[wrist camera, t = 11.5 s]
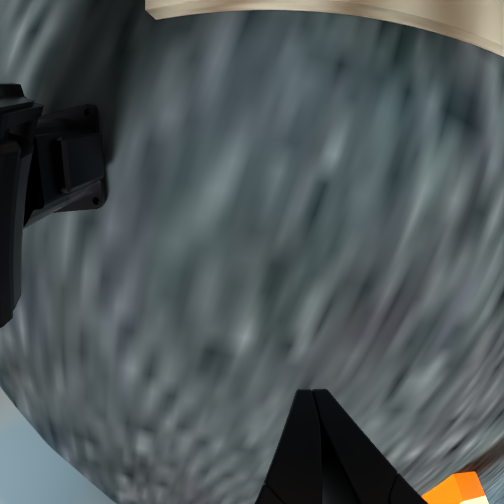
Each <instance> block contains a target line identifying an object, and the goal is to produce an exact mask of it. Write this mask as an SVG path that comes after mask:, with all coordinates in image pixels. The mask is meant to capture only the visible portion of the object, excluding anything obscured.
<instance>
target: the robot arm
mask: <svg viewBox="0 0 504 504" xmlns="http://www.w3.org/2000/svg"><path fill="white" fill-rule="evenodd" d="M43 107H44V105H40V104H36V103H34V100H30V99H27V98H26V97H25V96H24V94H23V90H22V87H21V85H20V84H15V83H0V328H1V327H3V326H4V325H5V324H6V323H7V322H9V321H10V320H11V319H12V317H13V310H14V309H15V307H16V305H17V303H18V300H19V298H20V296H21V263H22V261H21V259H22V235H23V229H24V228H26V227H27V226H29V225H31V224H33V223H34V222H36V221H38V220H40V219H42V218H44V217H45V216H47V215H49V214H51V213H55V212H65V211H76V210H88V209H98V208H100V207H102V206H103V205H104V204H105V200H106V198H105V191H104V182H103V177H104V175H105V172H104V162H103V151H102V138H101V135H100V134H99V125H98V110H97V107H96V106H95V105H93V104H87V105H82V106H78V107H74V108H70V109H66V110H62V111H59V112H55V113H51V114H48V115H45V116H41V114H42V110H43ZM89 109H91V114H90V116H88V114H87V112H88V110H89ZM96 197H98V198H99V203H97V202H96V200H95V198H96ZM255 504H429V503H428V502H427V501H425V500H424V499H423V498H422V497H421V496H420V495H419V494H418V493H417V492H416V491H415V490H414V489H413V488H412V487H411V486H410V485H409V484H408V483H407V482H406V481H405V479H404V478H403V477H402V476H401V475H400V474H399V473H398V474H397V470H396V469H395V468H394V467H393V466H392V465H391V464H390V463H389V461H388V460H387V459H386V458H385V457H384V456H383V454H382V453H381V452H380V451H379V450H378V449H377V448H376V446H375V445H374V444H373V443H372V442H371V441H370V439H369V438H368V437H367V436H366V435H365V434H364V432H363V431H362V430H361V429H360V428H359V427H358V425H357V424H356V423H355V422H354V421H353V420H352V418H351V417H350V416H349V415H348V414H347V412H346V411H345V410H344V409H343V408H342V407H341V405H340V404H339V403H338V402H337V401H336V399H335V398H334V397H333V396H332V395H331V393H330V392H329V391H328V390H326V389H313V390H311V389H298V390H297V391H296V393H295V396H294V400H293V403H292V406H291V409H290V412H289V415H288V418H287V420H286V423H285V426H284V429H283V432H282V435H281V438H280V440H279V443H278V446H277V449H276V452H275V454H274V457H273V460H272V462H271V465H270V468H269V470H268V473H267V475H266V478H265V481H264V483H263V485H262V488H261V490H260V493H259V495H258V497H257V500H256V502H255Z"/></svg>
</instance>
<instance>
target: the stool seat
mask: <svg viewBox="0 0 504 504" xmlns="http://www.w3.org/2000/svg"><path fill="white" fill-rule="evenodd" d="M145 10H146V11H147V12H148V13H149V14H150V15H151V16H152V17H153V18H155V19H156V20H159V19H164V18H170V17H177V16H184V15H192V14H200V13H210V12H222V11H238V10H300V11H316V12H328V13H338V14H346V15H354V16H361V17H368V18H374V19H379V20H385V21H390V22H395V23H399V24H404V25H408V26H413V27H417V28H421V29H425V30H428V31H432V32H435V33H439V34H442V35H446V36H449V37H452V38H455V39H458V40H461V41H464V42H467V43H470V44H473V45H475V46H478V47H481V48H483V49H486V50H489V51H491V52H494V53H496V54H498V55H501V56H503V57H504V0H145Z"/></svg>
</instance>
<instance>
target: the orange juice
mask: <svg viewBox="0 0 504 504" xmlns="http://www.w3.org/2000/svg"><path fill="white" fill-rule="evenodd" d="M421 497H422V498H423V499H424V500H425V501H427V502H428V503H429V504H489V503H488V501H487V498H486V496H485V494H484V492H483V489H482V487H481V484H480V482H479V479H478V477H477V475H476V472H467V473H458V474H453V475H451V476H450V477H449V478H447V479H446V480H445V481H443V482H442V483H440V484H439V485H438V486H436V487H435V488H433V489H432V490H430V491H429V492H427V493H426V494H424V495H423V496H421Z"/></svg>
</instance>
